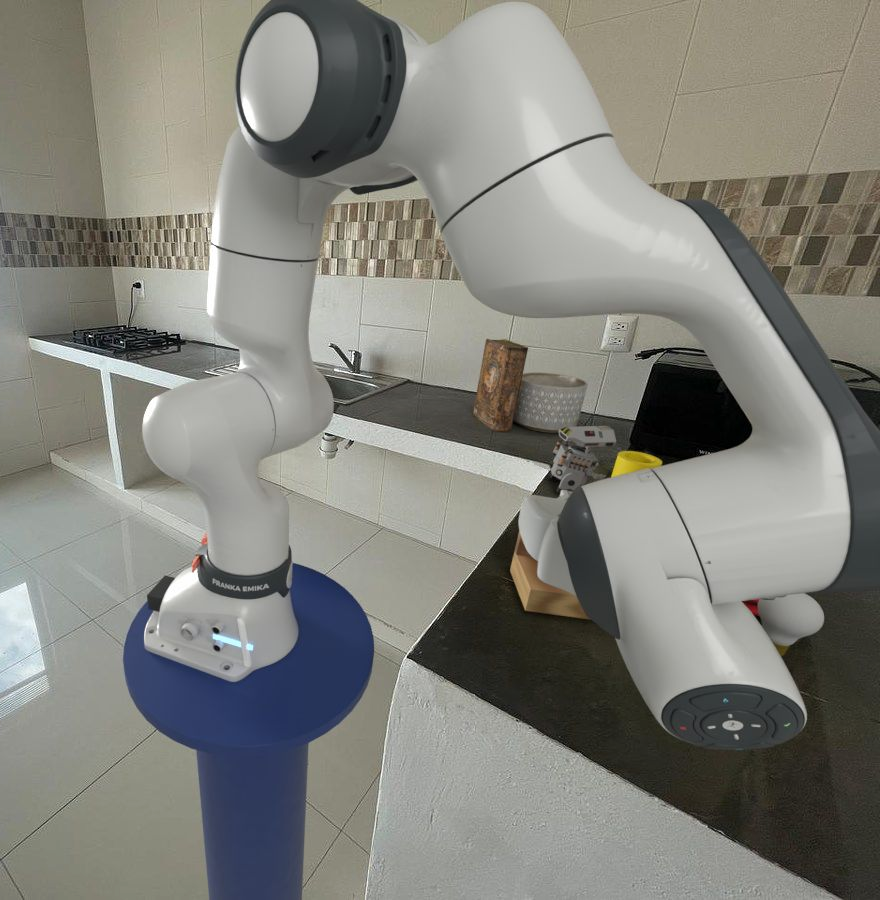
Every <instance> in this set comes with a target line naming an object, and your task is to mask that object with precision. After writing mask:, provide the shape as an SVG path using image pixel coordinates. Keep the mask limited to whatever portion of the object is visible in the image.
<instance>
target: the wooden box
mask: <svg viewBox="0 0 880 900" xmlns="http://www.w3.org/2000/svg"><path fill="white" fill-rule="evenodd" d="M518 530H519V529H518ZM511 560H512V561H511V563H510V569H509V572H510V574H511V577H512V580H513V582H514V585H515V588H516V590H517V593H518V596H519V598H520V601H521V604H522V606H523V608H524V611H526V612H532V613H539V614H547V615H552V616H553V615H554V616H561V617H569V618H576V619H583V620H590V621H592V620H591V619H590V618H589V617H588V616H587V615H586V614H585V612H584V610H583V609H582V607H581V605H580V603H579V600H578V598H577V596H576V595H574V594H571V593H569V592H567V591H564V590H562V589H559V588H557V587H554V586H551V585H549V584H547V583H544V582H543V581H541V580H540V579H539V578H538V575H537V567H538V561H537V560H535V559H534V558H533V557H532V556H531V555H530V554H529V553H528V551H527V550H526V548H525V545H524V543H523V540H522V537H521V534H520V530H519V531H518V534H517V538H516V543H515V547H514V551H513V556H512V559H511Z"/></svg>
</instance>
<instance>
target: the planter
mask: <svg viewBox="0 0 880 900" xmlns="http://www.w3.org/2000/svg"><path fill="white" fill-rule="evenodd" d="M588 385H589V384H588V382H587V381H585V380H584V379H582V378H578V377H575V376H571V375H567V374H561V373H552V372H539V371H538V372H523V376H522V380H521V385H520V390H519V395H518V400H517V405H516V410H515V415H514V419H513V422H515V424H517V425H518V426H520V427H522V428H525V429H528V430H532V431H536V432H541V433H542V432H543V433H551V434H552V433H553V434H555V433H557V434H559V430H560V429H562V428H564V427H578V424H579V419H580V416H581V412H582V408H583V404H584V401H585V396H586V394H587V393H586V392H587V389H588Z"/></svg>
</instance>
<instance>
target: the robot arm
mask: <svg viewBox="0 0 880 900" xmlns="http://www.w3.org/2000/svg"><path fill="white" fill-rule="evenodd" d="M234 105H235V112H236V117H237V120H238V124H239V126H238V127H237V128H236V129H235V130H234V131H233V132H232V134H230V136H229V139H228V141H227V144H226V148H225V150H224V155H223V158H222V159H223V160H222V163H221V167H220V172H219V177H218V182H217V186H216V192H215V199H214V206H213V213H212V214H213V215H212V222H211V232H210V233H211V236H210V247H209V261H208V264H209V265H208V279H207V280H208V281H207V296H206V297H207V298H206V313H207V316H208V320H209V322H210V323H211V325H212V327H213V329H214V331H216V333H217V334H218V335H219V336H220V338H223V339H224V340H225V341H226V342H228V343H230V344H232V345H233V346H235V347H237V348H238V351H239V366H238V368H237V370H236V372H233V373H229V374H223V375H217V376H213V377H207V378H201V379H197V380H191V381H188V382H185V383H183V384H180V385H178V386H176V387H173V388H171V389H168V390H167V391H165V392H163V393H161V394H158V395H156V396H154V397H153V398H152V399H151V400H150V401H149V403H148V405H147V407H146V409H145V411H144V414H143V419H142V427H141V431H142V432H141V433H142V440H143V444H144V447H145V450H146V453H147V455H148V456H149V458H150V460H151V461H152V463H153V464H154V465H155V466H156V467H157V469H158V470H160V471H161V472H163V473H164V474H165V475H166V476H169V477H170V478H172V479H174V480H177V481H179V482H181V483H183V484H184V485H186V486H188V487H189V488H190V489H191V490H192V491H193V492H194V493H195V495H196V497H197V498H198V500H199V502H200V504H201V506H202V511H203V516H204V522H205V530H206V533H205V534H204V536H203V538H201V540H200V544H201V546H199V548H198V549H197V551H196V552H195V558H194V559H193V560H192V563H191V566H189V567H187V568H185V569H183V570H182V571H181V572H180V573H178V575H177V576H176V577H174V576H169V575H164V576H163V577H162V578H161V579H160V580H159V581H158V582H157V583H156V584H155V586H154V587H153V588H152V589H151V590H150V591H149V592H148V593H147V594H146V602H147V601H148V609H150V610H153V611H154V612H153V613H152V615H151V617H150V619H149V621H148V623H147V625H146V628H145V633H144V646H145V649H146V650H147V651H149V652H152V653H154V654H157V655H160V656H162V657H165V658H168V659H170V660H173V661H176V662H179V663H181V664H184V665H187V666H189V667H192V668H195V669H198V670H200V671H203V672H206V673H208V674H211V675H214V676H217V677H219V678H222V679H225V680H227V681H230V682H237V681H240V680H241V679H243V678H245V677H246V676H247V675H249V674H250V673H251V672H252V671H254V670H256V669H259V668H262V667H265V666H268V665H271V664H273V663H275V662H277V661H279V660H280V659H282V658H283V657H285V656H286V655H287V654H288V653H289V652H290V651H291V650H292V648H293V647H294V645H295V643H296V641H297V638H298V632H299V631H298V624H297V621H296V618H295V615H294V612H293V608H292V602H291V596H290V587H291V584H292V566H293V563H294V562H293V558H292V557H293V555H292V554H293V553H292V548H291V545H290V504H289V501H288V499H287V497H286V496H285V494H284V493H283V492H282V489H281V490H280V488H279V487H278V486H276V485H275V484H274V483H271V482H269V481H267V480H265V479H262V478H259V465H260V463H261V461H262V460H264V459H265V458H266V459H267V458H270V457H271V456H275V455H277V454H280V453H284V452H286V451H289V450H292V449H295V448H298V447H300V446H303V445H304V444H306V443H308V442H309V441H311V440H312V439H313V438H315V437H316V436H318V435H319V434H321V433H322V432H324V431H325V430H326V429H327V428H328V427H329V426H330V424H331V422H332V419H333V416H334V411H335V401H334V395H333V391H332V388H331V385H330V384H329V382H328V380H327V379H326V377H325V376H324V375H323V374H322V373H321V372H320V371H319V370H318V369H317V368H316V366H315V364H314V360H313V357H312V354H311V347H310V335H309V333H310V318H311V312H312V305H313V297H314V290H315V284H316V277H317V271H318V264H319V259H320V258H319V257H320V252H321V246H322V241H323V231H324V226H325V222H326V219H327V215H328V212H329V209H330V208H331V206H332V204H333V203H334V202H335V200H336V199H337V198H338V196H340V195H341V194H342V193H344V192H345V191H347V190H350V191H351V193H353V194H354V195H357V196H361V195H366V194H370V193H374V192H379V191H385V190H392V189H397V188H400V187H403V186H407V185H410V184H413V183H415V182H417V181H418V183H419V184H420V186H421V187H422V190H423V191H424V193H425V195H426V198H427V199H428V202H429V204H430V207H431V210H432V213H433V216H434V218H435V221H436V224H437V226H438V229H439V232H440V234H441V236H442V239H443V242H444V245H445V247H446V249H447V251H448V253H449V256H450V258H451V260H452V262H453V265H454V266H455V268H456V271H457V273H458V274H459V277H460V278H461V280H462V282H463V283H464V285H465V287H466V289H467V290H468V292H469V293H470V295H471V296H472V297H473V298H474V299H476V300H477V301H479V302H480V303H481V304H482V305H484V306H485V307H488V308H489V309H491V310H494V311H496V312H499V313H502V314H505V315H509V316H514V317H519V318H527V319H529V318H530V319H564V318H581V317H591V316H593V317H594V316H605V315H625V314H626V315H627V314H633V315H646V316H647V315H648V316H649V315H650V316H655V317H660V318H664V319H667V320H670V321H672V322H674V323H677V325H678V324H679V325H680V326H681V327H683V328H685V329H686V330H687V331H688V332H689V333H690V334H692V336H693V337H694V339H696V341H697V342H698V343H699V346H700V347H701V348H702V350H703V351H704V353H705V354H706V356H707V358H708V360H709V361H710V362H711V364H712V365H713V367H714V369H715V370H716V372H717V373H718V374H719V376H720V378H721V379H722V381H723V382H724V384H725V385H726V387H727V388H728V390H729V392H730V393H731V395H732V396H733V398H734V400H735V401H736V403H737V404H738V405H739V407H740V409H741V410H742V411H743V413H744V414H745V416H746V418H747V419H748V422H749V423H750V424H751V429H752V430H751V433H750V436H749V437H748V438H747V439H746V440H745V441H743V442H742V443H740V444H739V445H737V446H734V447H731V448H728V449H724V450H720V451H717V452H712V453H708V454H704V455H701V456H696V457H692V458H688V459H684V460H681V461H680V460H679V461H676V462H672V463H668V464H664V465H661V466H660V467H656V468H652V469H649V468H647V469H643V470H639V471H634V472H630V473H626V474H622V475H618V476H615V477H611V476H610V477H607V478H603V479H602V480H596V481H592V482H589V483H585V484H584V485H580V486H578V487H577V488H576V489H575V490H574V491H567V490H561V493H560V494H559V496H558V497H556V498H554V497H549V496H543V495H537V494H530V495H527V496H525V497H524V498H523V499H522V503H521V507H520V510H519V515H518V523H517V524H518V530H520V534H521V537H522V540H523V543H524V545H525V548H526V550H527V551H528V553H529V554H530V555H531V556H532V557H533V558H534V559H535V560H537V561H538V567H537V575H538V578H539V579H540V580H541V581H543V582H544V583H547V584H549V585H551V586H554V587H557V588H559V589H562V590H564V591H567V592H569V593H571V594H574V595H576V596H577V598H578V600H579V603H580V605H581V607H582V609H583V610H584V612H585V614H586V615H587V616H588V617H589V618H590V619H591V620H590V619H589V620H590V621H592V622H593V623H595V625H597V626H598V627H599V628H601V629H602V630H603V632H605V633H606V634H608V635H610V636H611V637H613V638H614V639H615V642H616V645H617V648H618V650H619V652H620V655H621V657H622V660H623V662H624V664H625V666H626V669H627V670H628V672H629V675H630V677H631V679H632V681H633V683H634V685H635V687H636V689H637V690H638V692H639V694H640V696H641V697H642V699H643V701H644V703H645V704H646V706H647V707H648V709H649V711H650V713H652V715H653V717H654V718H655V720H656V721H657V723H659V725H660V726H661V727H662V728H663V729H664V730H665V731H666V732H667V733H669V734H670V735H672V736H673V737H675V738H676V739H678V740H680V741H683V742H685V743H686V744H690V745H693V746H696V747H700V748H705V749H709V750H718V751H719V750H720V751H721V750H722V751H742V750H743V751H745V750H746V751H748V750H762V749H768V748H773V747H775V746H779V745H781V744H785V743H786V742H789V741H790V740H792V739H793V738H795V737H796V736H798V735H799V734H800V733H801V732H802V730H803V729H804V728H805V726H806V724H807V720H808V713H807V708H806V705H805V703H804V699H803V697H802V694H801V693H800V691H799V688H798V686H797V684H796V682H795V679H794V678H793V676H792V675H791V672H790V671H789V669H788V667H787V665H786V662H785V661H784V659H783V656H780V654H779V652H778V651H777V649H776V647H775V646H774V644H773V643H772V641H771V640H770V638H769V636H768V635H767V633H766V632H765V631H764V629H763V628H762V624H760V622H759V620H758V619H757V618H756V615H753V614H752V612H751V611H750V610H749V609H748V608H747V607H746V606H745V605H744V603H743V602H741V601H747V600H754V599H763V600H774V599H775V598H776V597H785V596H787V595H792V594H800V593H805V594H807V593H808V594H812V595H821V594H824V595H825V594H839V593H841V594H842V593H854V592H855V593H857V592H870V591H872V592H873V591H880V429H879V428H878V427H877V425H875V423H874V422H873V420H871V418H870V416H869V415H868V414H867V413H866V412H865V410H864V409H863V407H862V406H861V404H860V403H859V401H858V399H856V397H855V395H854V394H853V392H852V391H851V389H850V388H849V386H848V385H847V384H846V382H845V380H844V379H843V378H842V377H843V376H842V375H840V373H839V371H838V370H837V368H836V367H835V365H834V363H833V362H832V360H831V359H830V357H829V356H828V355H827V352H825V350H824V348H823V347H822V345H821V344H820V342H819V340H818V339H817V337H816V336H815V335H814V333H813V332H812V330H811V329H810V327H809V325H808V324H807V323H806V320H804V318H803V316H802V315H801V313H800V312H799V310H798V309H797V307H796V305H795V303H793V301H792V299H791V298H790V296H789V295H788V293H787V292H786V290H785V288H784V287H783V286H782V284H781V283H780V281H779V280H778V278H777V277H776V276H775V274H774V273H773V272H772V270H771V268H770V267H769V266H768V264H767V263H766V261H765V260H764V259H763V258H762V256H761V255H760V253H759V252H758V251H757V249H756V248H755V247H754V245H753V244H752V243H751V242H750V239H748V238H747V236H746V235H745V234H744V233H743V231H742V230H741V229H740V228H739V226H738V225H737V224H736V223H735V222H734V221H733V220H732V219H731V218H730V217H729V216H728V215H727V214H726V213H725V212H723V210H721V209H720V208H719V207H717V206H716V205H715V204H713V203H712V202H710V201H708V200H706V199H704V198H679V199H678V198H677V199H673V198H671V197H668V196H667V195H665V194H663V193H661V192H660V191H658V190H656V189H655V188H654V187H652V186H651V185H650V184H648V183H646V182H645V181H644V180H643V179H642V178H641V177H640V176H638V175H637V173H636V172H635V171H634V170H633V169H632V168H631V166H630V165H629V164H628V163H627V161H626V160H625V158H624V157H623V155H622V153H621V151H620V149H619V147H618V145H617V142H616V139H615V138H614V134H613V132H612V129H611V127H610V125H609V122H608V119H607V117H606V114H605V111H604V109H603V107H602V105H601V103H600V101H599V98H598V96H597V95H596V92H595V89H594V88H593V86H592V84H591V82H590V79H588V76H587V74H586V73H585V71H584V69H583V68H582V65H581V63H580V62H579V60H578V58H577V57H576V55H575V53H574V52H573V50H572V49H571V47H570V46H569V44H568V42H567V40H566V39H565V37H564V36H563V35H562V33H561V31H559V29H558V27H557V26H556V25H555V23H554V22H553V21H552V19H551V18H550V17H549V16H548V15H547V14H546V13H545V11H543V10H542V9H541V8H539V7H538V6H536V5H534V4H532V3H528V2H525V1H513V0H511V1H505V2H500V3H496V4H493V5H489V6H488V7H485V8H483V9H481V10H480V11H477V12H475V13H474V14H472V15H470V16H469V17H467V18H466V19H464V20H462V21H461V22H460V23H458V24H457V25H456V26H454V28H452V29H451V30H450V31H449V32H448V33H447V34H445V36H443V37H442V38H441V39H439V40H437V41H436V42H433V43H431V44H429V43H428V42H427V41H426V40H425V39H424V38H423V37H421V35H419V34H418V33H417V32H416V31H415V30H413V29H412V28H411V27H410V26H408V25H406V24H405V23H404V22H402V21H401V20H399V19H398V18H395V17H393V16H390V15H385V14H382V13H380V12H377V11H376V10H373V9H372V8H370V7H368V6H367V5H365V4H364V3H362V2H361V1H359V0H269V1H268V2H266V4H265V5H264V6H263V7H262V8H261V9H260V10H259V11H258V13H257V14H256V16H255V17H254V19H253V20H252V22H251V24H250V26H249V27H248V29H247V32H246V33H245V36H244V39H243V41H242V44H241V47H240V49H239V53H238V57H237V62H236V67H235V75H234ZM225 669H228V670H225Z"/></svg>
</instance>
